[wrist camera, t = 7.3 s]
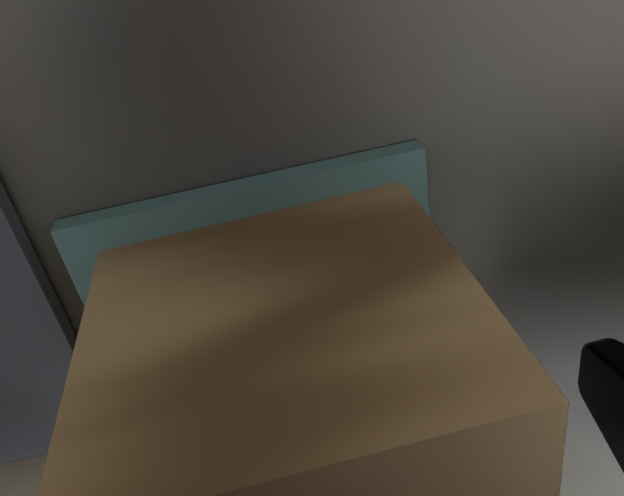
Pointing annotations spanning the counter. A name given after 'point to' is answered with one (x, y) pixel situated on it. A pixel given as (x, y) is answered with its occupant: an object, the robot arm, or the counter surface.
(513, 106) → the counter surface
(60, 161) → the counter surface
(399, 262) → the oak block
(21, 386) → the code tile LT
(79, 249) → the rubber mat
